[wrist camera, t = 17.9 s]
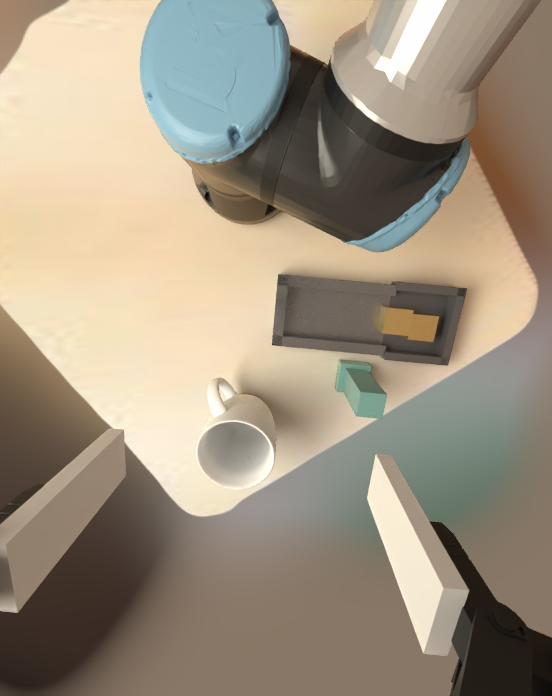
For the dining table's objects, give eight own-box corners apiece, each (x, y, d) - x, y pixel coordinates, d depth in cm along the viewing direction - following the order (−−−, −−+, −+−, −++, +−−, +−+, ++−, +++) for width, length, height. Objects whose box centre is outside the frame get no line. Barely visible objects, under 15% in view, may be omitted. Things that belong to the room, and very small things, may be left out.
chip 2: (406, 311, 47) (413, 314, 44) (431, 314, 47) (439, 316, 44) (401, 336, 48) (407, 339, 45) (425, 338, 48) (433, 342, 45)
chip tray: (392, 281, 46) (399, 282, 43) (455, 287, 46) (466, 288, 43) (378, 354, 49) (384, 359, 46) (438, 360, 49) (447, 365, 46)
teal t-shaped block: (339, 359, 50) (355, 386, 38) (368, 362, 50) (394, 389, 38) (334, 387, 51) (349, 420, 39) (363, 389, 51) (386, 424, 39)
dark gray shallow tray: (278, 274, 46) (278, 274, 44) (391, 284, 46) (397, 285, 44) (272, 341, 49) (272, 345, 47) (379, 351, 49) (384, 355, 47)
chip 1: (382, 305, 47) (387, 307, 44) (407, 308, 47) (413, 310, 44) (377, 330, 48) (382, 333, 45) (402, 332, 48) (408, 335, 45)
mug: (194, 380, 51) (165, 415, 39) (249, 354, 50) (237, 381, 37) (235, 448, 54) (220, 501, 42) (288, 425, 53) (289, 472, 40)
